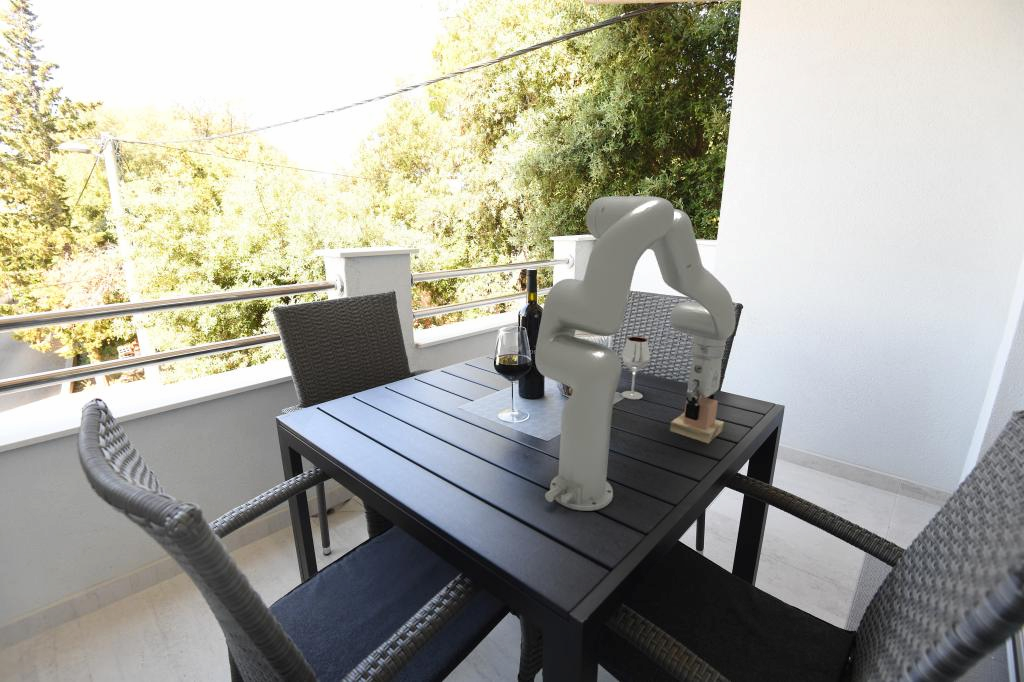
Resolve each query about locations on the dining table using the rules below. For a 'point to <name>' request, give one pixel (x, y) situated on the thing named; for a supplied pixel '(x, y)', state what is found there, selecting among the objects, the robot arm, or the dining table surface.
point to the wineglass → (635, 361)
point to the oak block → (696, 429)
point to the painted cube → (704, 413)
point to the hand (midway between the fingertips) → (698, 412)
